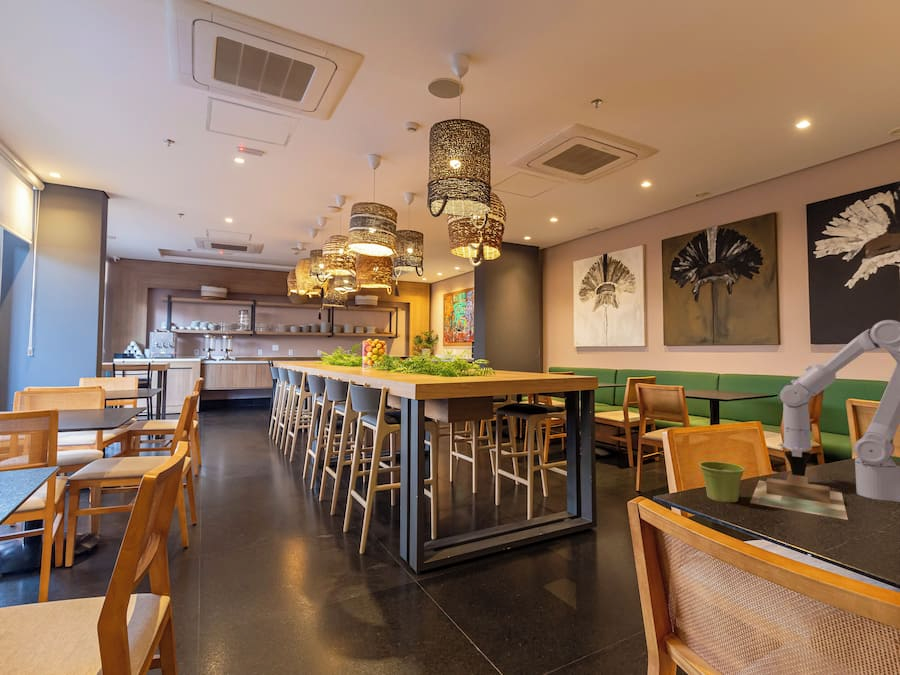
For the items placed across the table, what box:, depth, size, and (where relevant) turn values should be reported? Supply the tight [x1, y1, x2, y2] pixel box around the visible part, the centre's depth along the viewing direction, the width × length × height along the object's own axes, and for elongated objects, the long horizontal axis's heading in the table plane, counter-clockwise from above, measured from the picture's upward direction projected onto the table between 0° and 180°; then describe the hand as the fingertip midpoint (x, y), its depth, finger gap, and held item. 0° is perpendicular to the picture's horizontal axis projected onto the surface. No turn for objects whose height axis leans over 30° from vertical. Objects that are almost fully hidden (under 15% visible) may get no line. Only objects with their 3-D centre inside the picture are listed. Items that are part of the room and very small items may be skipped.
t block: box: [766, 473, 831, 504], centre depth 110 cm, size 12×12×3 cm
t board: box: [749, 480, 849, 521], centre depth 106 cm, size 17×24×1 cm
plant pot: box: [698, 461, 746, 503], centre depth 106 cm, size 9×9×9 cm
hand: (798, 479), depth 119 cm, fingers closed
